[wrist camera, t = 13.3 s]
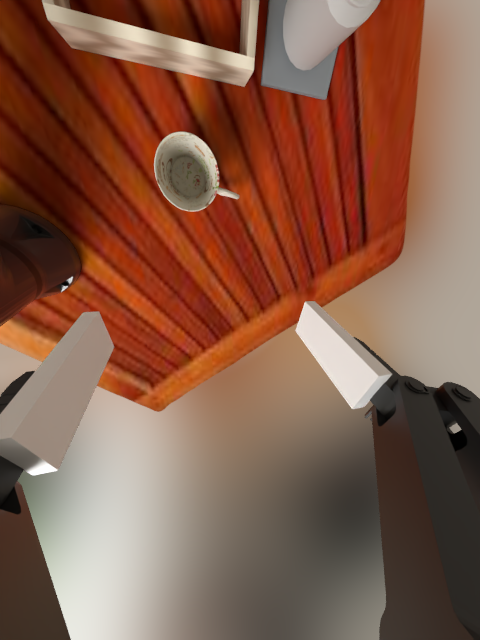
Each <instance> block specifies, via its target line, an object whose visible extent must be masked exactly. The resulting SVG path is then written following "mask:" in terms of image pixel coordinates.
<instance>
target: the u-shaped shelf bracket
mask: <svg viewBox="0 0 480 640" xmlns="http://www.w3.org/2000/svg"><path fill="white" fill-rule="evenodd" d="M42 3H43V6H44V10H45V13H46V16H47V20H48V21H49V22H50V23H51V24H52V26H53V27H54V28H55V29H56V30H57V31H58V33H59V34H60V35H61V36H62V37H63V38H64V39H65V41H66V42H67V43H68V44H69V45H70V46H71V48H74V49H78V50H83V51H87V52H92V53H96V54H101V55H105V56H110V57H114V58H118V59H123V60H127V61H132V62H136V63H141V64H145V65H150V66H154V67H158V68H163V69H167V70H172V71H176V72H181V73H185V74H190V75H194V76H198V77H203V78H207V79H212V80H216V81H221V82H225V83H230V84H234V85H238V86H243V87H245V85H246V83H247V82H248V80H249V78H250V76H251V75H252V73H253V71H254V61H255V48H256V35H257V22H258V9H259V0H242V10H241V32H240V53H239V54H237V53H233V52H230V51H226V50H222V49H218V48H214V47H211V46H207V45H203V44H199V43H195V42H192V41H188V40H184V39H180V38H177V37H173V36H169V35H165V34H161V33H158V32H154V31H150V30H146V29H143V28H139V27H135V26H131V25H127V24H124V23H120V22H116V21H112V20H108V19H105V18H101V17H97V16H93V15H90V14H86V13H82V12H78V11H74V10H71V7H70V4H69V0H42Z"/></svg>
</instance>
